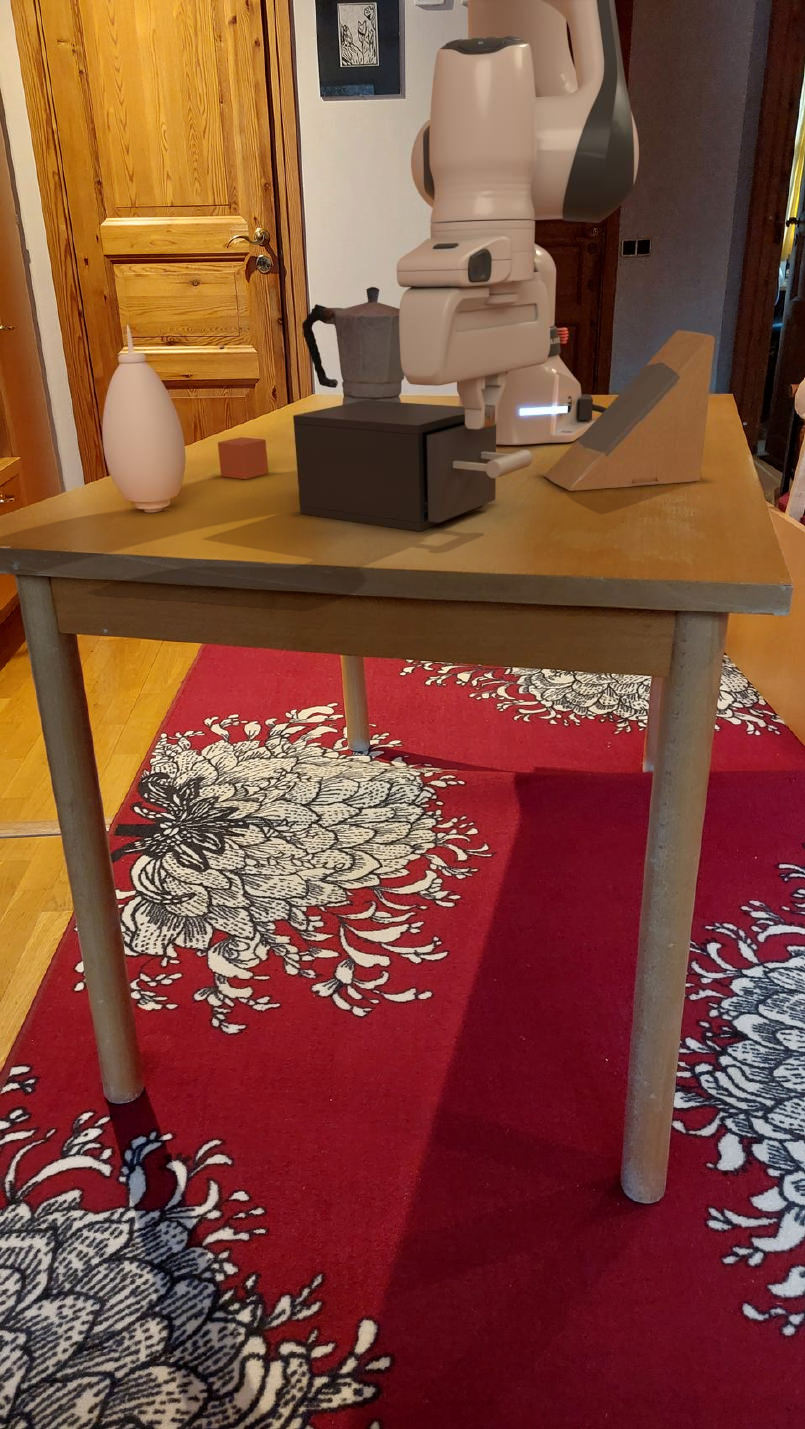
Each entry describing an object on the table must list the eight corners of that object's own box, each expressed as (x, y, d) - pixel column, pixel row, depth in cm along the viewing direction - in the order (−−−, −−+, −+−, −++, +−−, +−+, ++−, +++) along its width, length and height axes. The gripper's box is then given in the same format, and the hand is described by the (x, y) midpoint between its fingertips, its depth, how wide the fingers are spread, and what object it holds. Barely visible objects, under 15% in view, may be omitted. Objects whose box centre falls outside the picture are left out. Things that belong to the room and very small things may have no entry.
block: (244, 470, 120) (241, 437, 118) (268, 473, 118) (265, 439, 116) (221, 476, 117) (217, 442, 115) (245, 479, 115) (242, 445, 113)
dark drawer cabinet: (483, 506, 99) (484, 408, 95) (420, 531, 91) (417, 425, 87) (368, 491, 107) (364, 400, 103) (300, 513, 99) (292, 415, 95)
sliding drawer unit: (542, 505, 95) (544, 422, 92) (487, 530, 87) (488, 440, 84) (386, 486, 105) (383, 411, 102) (324, 506, 97) (319, 426, 94)
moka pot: (421, 468, 118) (417, 287, 109) (298, 467, 121) (285, 290, 112) (435, 453, 126) (432, 284, 117) (319, 452, 129) (309, 287, 120)
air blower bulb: (100, 518, 100) (69, 328, 92) (138, 500, 106) (112, 322, 99) (169, 521, 98) (143, 327, 90) (204, 502, 104) (183, 321, 97)
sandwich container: (541, 476, 112) (545, 335, 105) (666, 466, 114) (677, 329, 108) (567, 491, 104) (574, 341, 98) (701, 481, 107) (715, 334, 100)
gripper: (509, 259, 93) (507, 410, 99) (383, 264, 78) (389, 441, 84) (570, 257, 90) (563, 413, 96) (450, 262, 75) (451, 447, 81)
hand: (481, 427), depth 90 cm, fingers closed
